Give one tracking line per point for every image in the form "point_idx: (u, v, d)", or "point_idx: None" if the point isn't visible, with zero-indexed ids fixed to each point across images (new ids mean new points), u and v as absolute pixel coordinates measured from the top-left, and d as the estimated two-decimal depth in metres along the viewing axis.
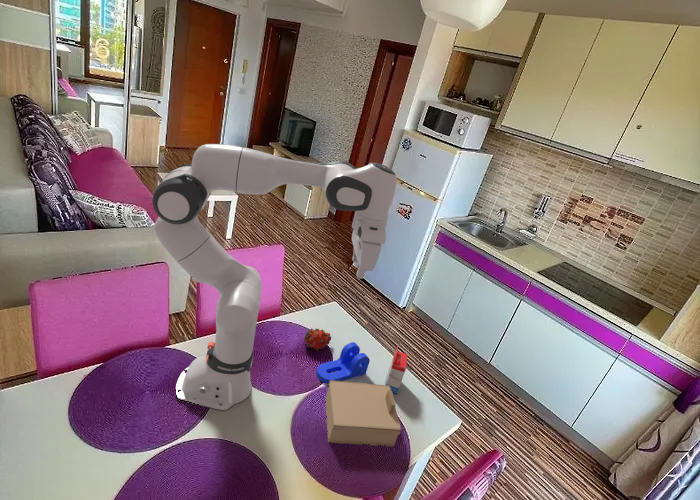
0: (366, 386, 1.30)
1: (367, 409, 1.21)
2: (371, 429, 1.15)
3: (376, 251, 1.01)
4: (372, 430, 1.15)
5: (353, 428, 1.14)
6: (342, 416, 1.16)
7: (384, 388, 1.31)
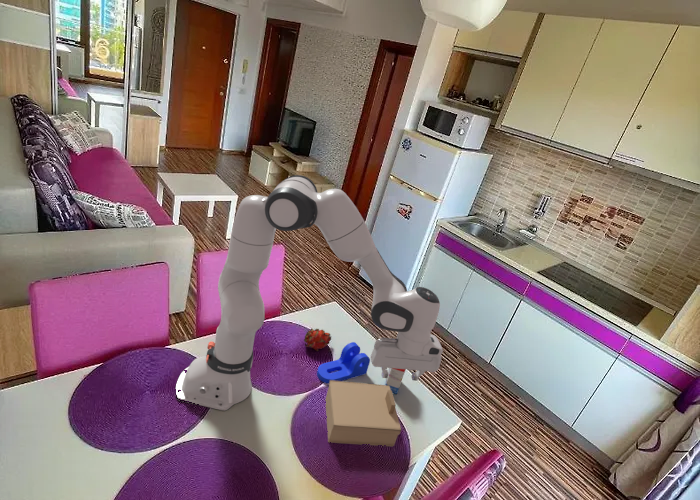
0: (366, 386, 1.30)
1: (367, 409, 1.21)
2: (371, 429, 1.15)
3: None
4: (372, 430, 1.15)
5: (353, 428, 1.14)
6: (342, 416, 1.16)
7: (384, 388, 1.31)
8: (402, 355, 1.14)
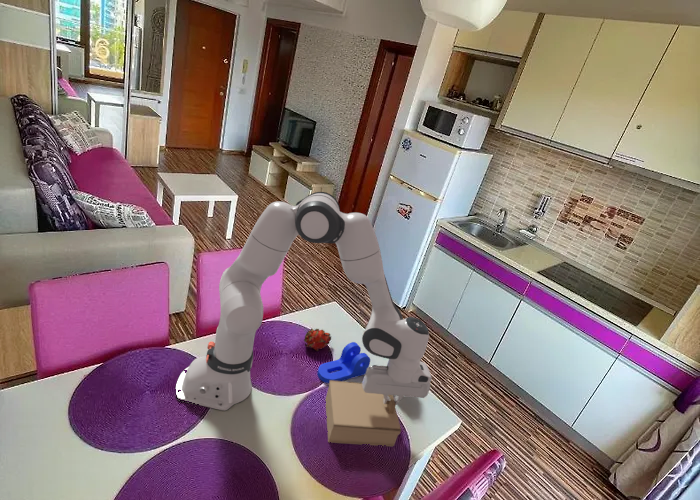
0: None
1: (367, 409, 1.21)
2: (371, 429, 1.15)
3: None
4: (372, 430, 1.15)
5: (353, 428, 1.14)
6: (342, 416, 1.16)
7: None
8: (392, 382, 1.18)
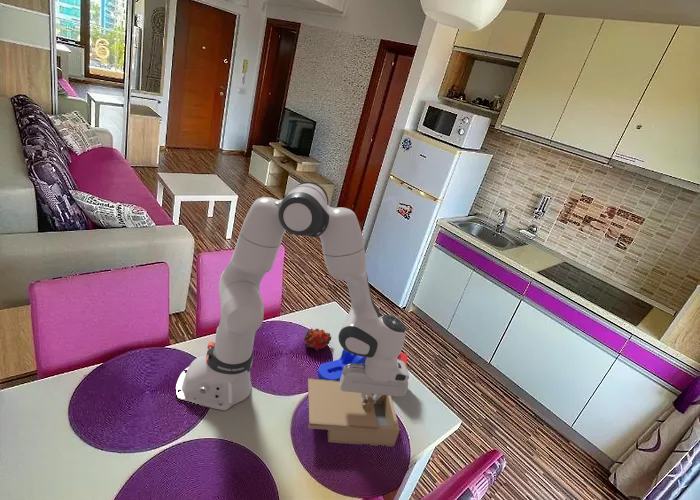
0: None
1: (344, 407, 1.20)
2: (347, 427, 1.14)
3: None
4: (348, 428, 1.14)
5: (329, 426, 1.13)
6: (318, 414, 1.15)
7: None
8: (369, 380, 1.17)
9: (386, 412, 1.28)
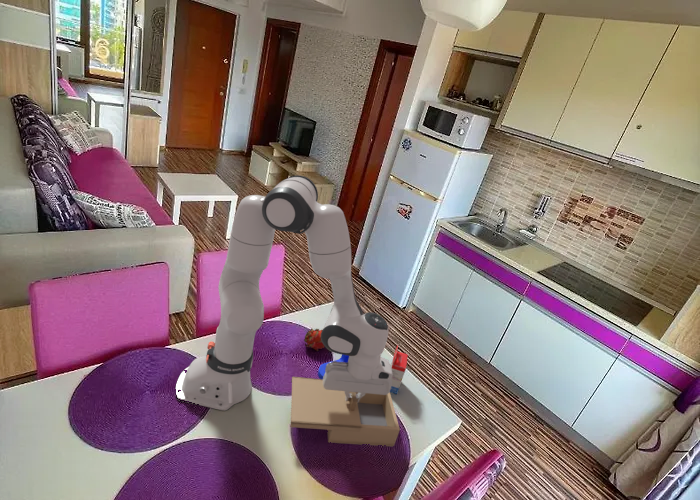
0: None
1: (328, 406, 1.19)
2: (330, 426, 1.13)
3: None
4: (331, 427, 1.13)
5: (311, 425, 1.12)
6: (301, 413, 1.14)
7: None
8: (353, 379, 1.16)
9: (386, 412, 1.28)
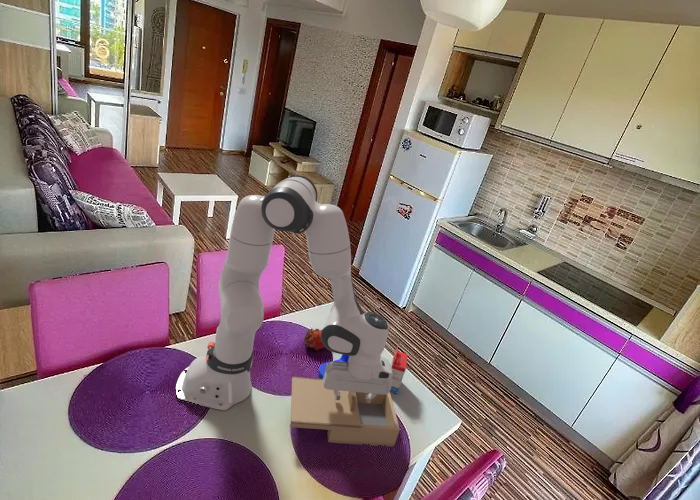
0: None
1: (328, 406, 1.19)
2: (330, 426, 1.13)
3: None
4: (331, 427, 1.13)
5: (311, 425, 1.12)
6: (300, 413, 1.14)
7: None
8: (353, 378, 1.16)
9: (386, 412, 1.28)
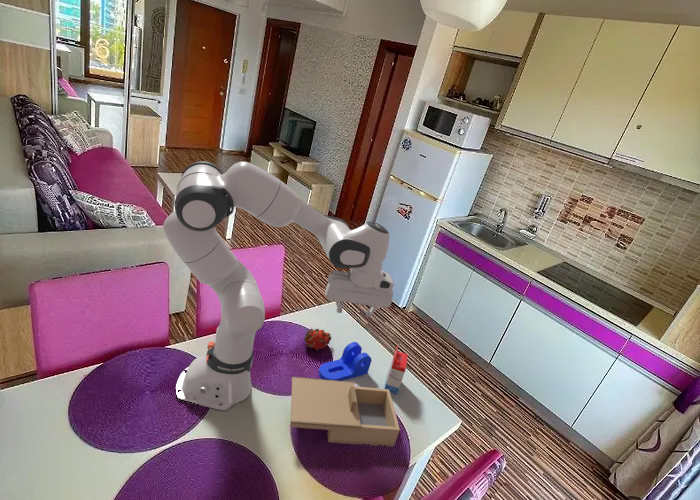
0: (329, 383, 1.27)
1: (328, 406, 1.19)
2: (330, 426, 1.13)
3: None
4: (331, 427, 1.13)
5: (311, 425, 1.12)
6: (300, 413, 1.14)
7: (348, 385, 1.28)
8: (355, 289, 1.19)
9: (386, 412, 1.28)
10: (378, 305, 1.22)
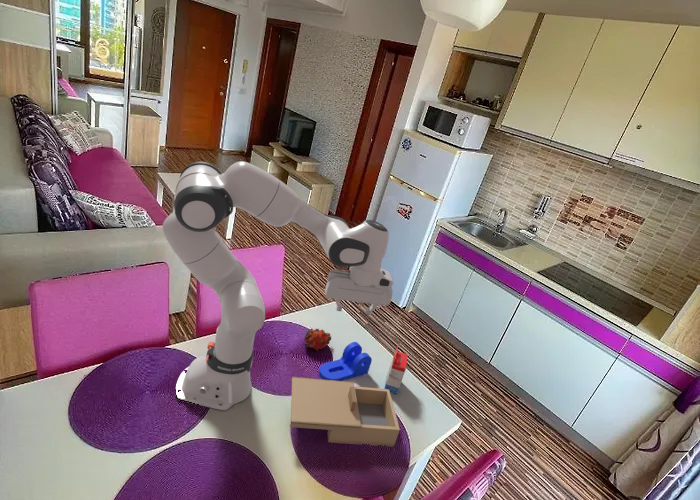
0: (329, 383, 1.27)
1: (328, 406, 1.19)
2: (330, 426, 1.13)
3: None
4: (331, 427, 1.13)
5: (311, 425, 1.12)
6: (300, 413, 1.14)
7: (348, 385, 1.28)
8: (354, 287, 1.19)
9: (386, 412, 1.28)
10: (378, 303, 1.22)
